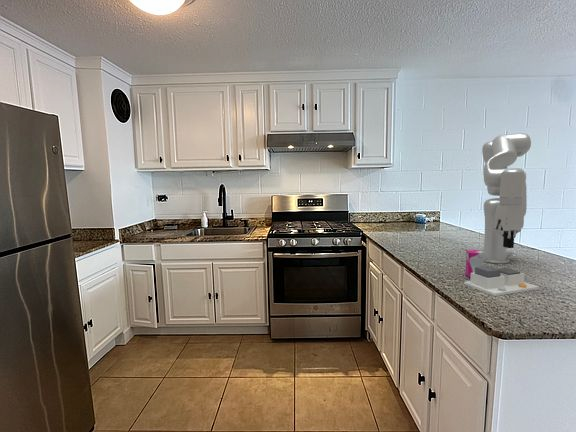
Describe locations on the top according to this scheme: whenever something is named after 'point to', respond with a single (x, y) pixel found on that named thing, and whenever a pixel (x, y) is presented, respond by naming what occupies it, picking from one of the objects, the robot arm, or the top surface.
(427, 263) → the top surface
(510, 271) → the block
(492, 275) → the plain breaker
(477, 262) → the supplement box
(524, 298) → the top surface
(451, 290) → the top surface
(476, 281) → the breaker panel
